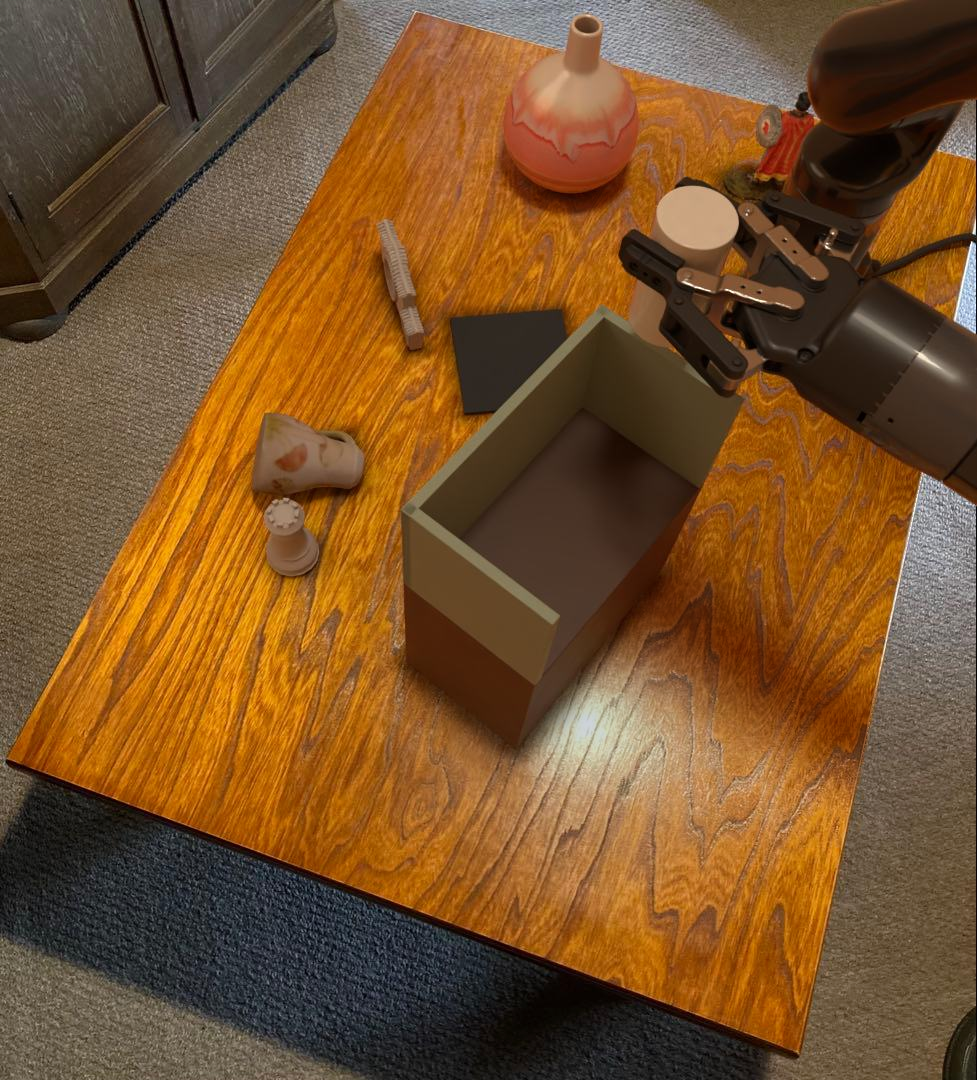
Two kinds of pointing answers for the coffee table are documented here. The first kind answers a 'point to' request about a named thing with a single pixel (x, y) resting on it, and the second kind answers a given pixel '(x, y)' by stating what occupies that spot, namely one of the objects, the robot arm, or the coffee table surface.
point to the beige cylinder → (685, 248)
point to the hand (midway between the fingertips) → (651, 217)
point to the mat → (502, 353)
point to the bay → (555, 520)
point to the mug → (303, 457)
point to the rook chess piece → (289, 539)
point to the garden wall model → (400, 283)
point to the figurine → (773, 150)
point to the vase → (572, 115)
